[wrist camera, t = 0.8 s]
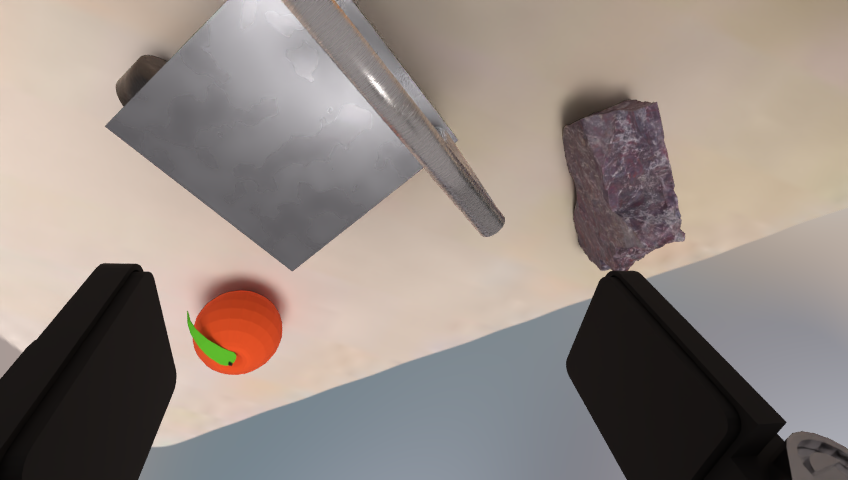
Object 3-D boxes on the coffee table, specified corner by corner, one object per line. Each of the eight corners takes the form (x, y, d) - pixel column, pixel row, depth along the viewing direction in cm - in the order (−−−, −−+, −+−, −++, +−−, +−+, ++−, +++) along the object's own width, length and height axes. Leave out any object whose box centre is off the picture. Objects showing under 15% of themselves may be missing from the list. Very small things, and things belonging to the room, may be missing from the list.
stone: (640, 133, 25) (623, 323, 33) (735, 108, 25) (697, 301, 33) (554, 97, 34) (558, 253, 42) (626, 79, 34) (616, 236, 42)
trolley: (289, -87, 25) (207, -175, 10) (447, 122, 33) (535, 250, 18) (135, 74, 28) (-108, 194, 13) (314, 229, 36) (294, 416, 21)
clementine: (177, 300, 38) (146, 362, 32) (228, 252, 36) (206, 308, 30) (253, 344, 42) (238, 406, 36) (302, 302, 40) (295, 361, 34)
